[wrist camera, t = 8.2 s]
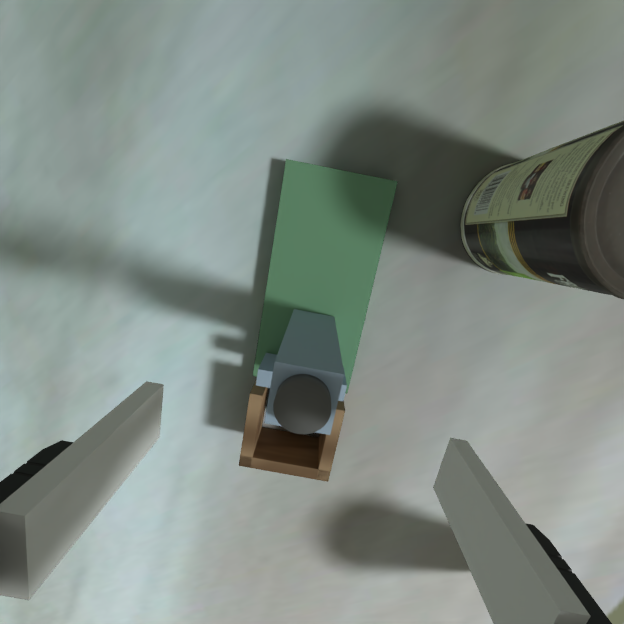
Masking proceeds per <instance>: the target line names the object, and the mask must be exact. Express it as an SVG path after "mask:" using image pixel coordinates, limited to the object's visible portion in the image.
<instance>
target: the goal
mask: <svg viewBox="0 0 624 624" xmlns="http://www.w3.org/2000/svg"><path fill="white" fill-rule="evenodd" d="M256 380H257V379H256ZM267 394H268V388H267V387H262V386H256V381H255V383H254V386H253V388H252V390H251V392H250V396H249V403H248V409H247V416H246V422H245V428H244V435H243V441H242V448H241V454H240V461H239V466H244V467H250V468H255V469H261V470H267V471H272V472H278V473H283V474H289V475H294V476H300V477H306V478H311V479H317V480H322V481H328V480H329V475H330V471H331V467H332V463H333V459H334V455H335V450H336V446H337V442H338V438H339V434H340V430H341V426H342V421H343V417H344V413H345V408H344V400H343V401H338V404H337V408H336V412H335V417H334V421H333V425H332V430H331V434H330V435H327V434H321V433H320V434H319V437H314V436H309V435H303V434H296V433H292V432H287V431H281V430H276V429H270V428H265V427H262V423H263V417H264V411H265V405H266V400H267Z"/></svg>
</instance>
